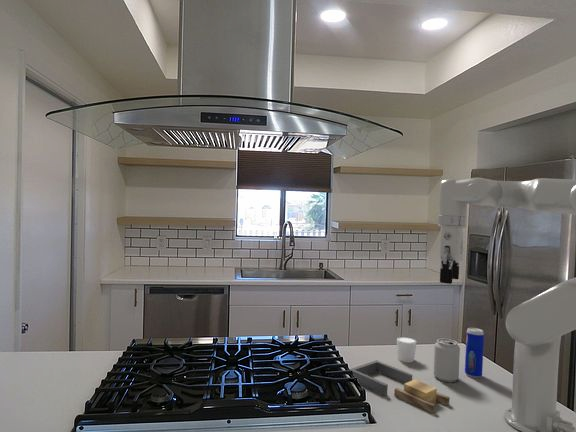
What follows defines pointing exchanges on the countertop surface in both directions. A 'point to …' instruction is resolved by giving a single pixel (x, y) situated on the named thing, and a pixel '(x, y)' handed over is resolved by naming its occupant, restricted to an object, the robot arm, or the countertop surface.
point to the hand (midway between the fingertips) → (449, 280)
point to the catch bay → (383, 368)
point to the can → (446, 360)
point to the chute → (421, 400)
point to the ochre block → (421, 390)
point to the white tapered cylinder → (406, 349)
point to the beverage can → (474, 352)
